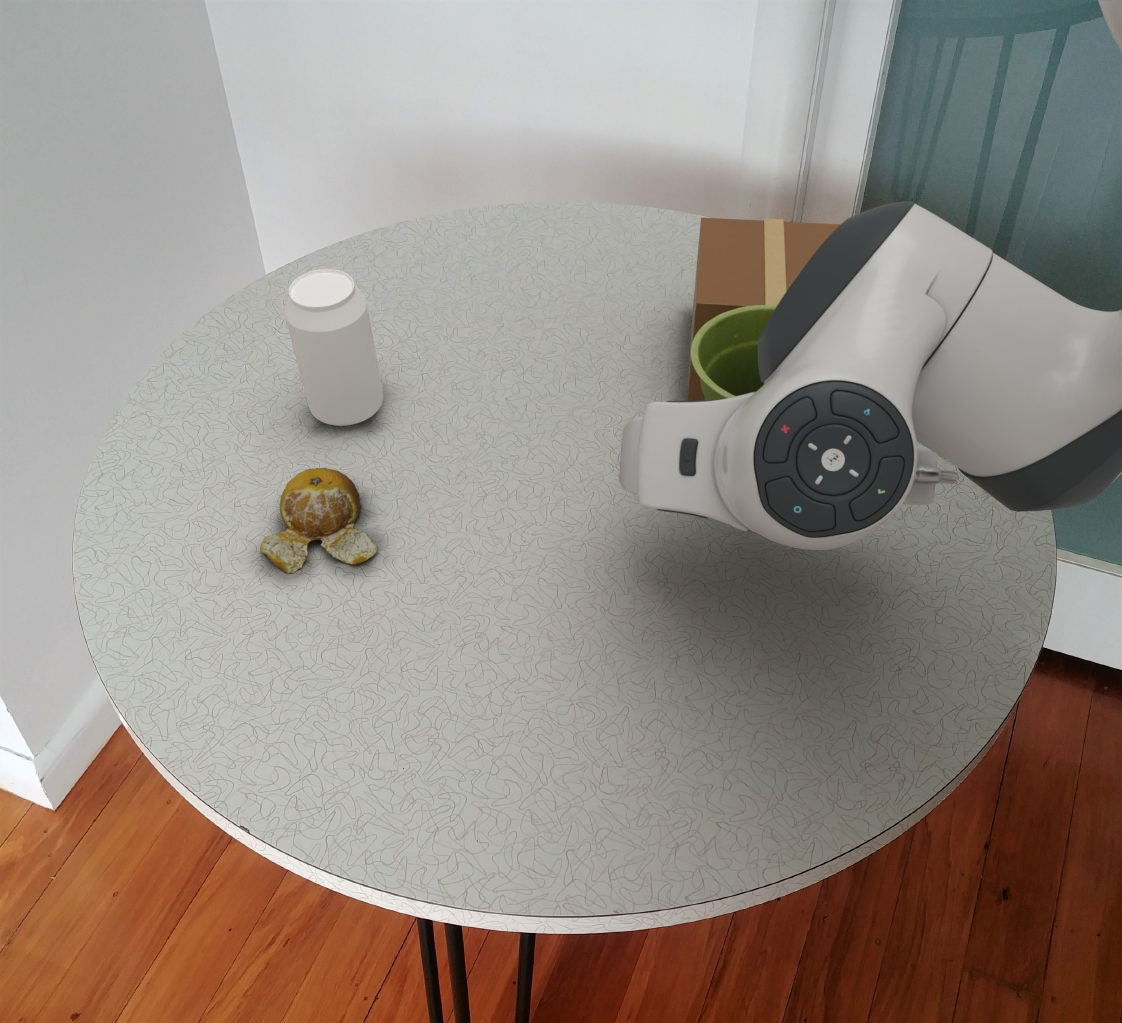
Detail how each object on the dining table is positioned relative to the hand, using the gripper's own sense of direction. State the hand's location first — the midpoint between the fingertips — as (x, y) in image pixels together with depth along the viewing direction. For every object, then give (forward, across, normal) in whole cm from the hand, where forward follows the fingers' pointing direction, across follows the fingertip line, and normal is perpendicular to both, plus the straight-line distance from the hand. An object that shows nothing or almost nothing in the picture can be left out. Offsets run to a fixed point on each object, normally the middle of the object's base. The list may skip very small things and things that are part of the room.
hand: (762, 467), depth 76 cm
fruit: (0, +32, +8) cm, 33 cm away
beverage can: (+10, +33, -2) cm, 35 cm away
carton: (+16, -1, -9) cm, 18 cm away
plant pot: (+7, 0, 0) cm, 7 cm away
